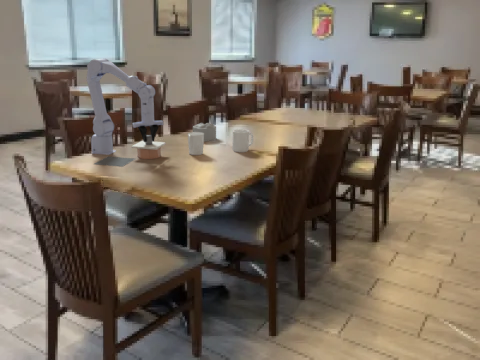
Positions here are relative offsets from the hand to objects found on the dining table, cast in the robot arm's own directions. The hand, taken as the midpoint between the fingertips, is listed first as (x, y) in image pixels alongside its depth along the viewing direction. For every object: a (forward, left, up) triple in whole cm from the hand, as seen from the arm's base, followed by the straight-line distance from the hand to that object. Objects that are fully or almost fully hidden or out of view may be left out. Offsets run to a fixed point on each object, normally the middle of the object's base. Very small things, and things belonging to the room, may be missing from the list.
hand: (148, 141), depth 212 cm
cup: (+40, +27, -8) cm, 49 cm away
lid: (0, 0, -2) cm, 2 cm away
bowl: (0, 0, -8) cm, 8 cm away
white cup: (+19, +13, -8) cm, 24 cm away
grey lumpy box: (+14, +46, -8) cm, 49 cm away
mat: (-11, -13, -8) cm, 19 cm away
